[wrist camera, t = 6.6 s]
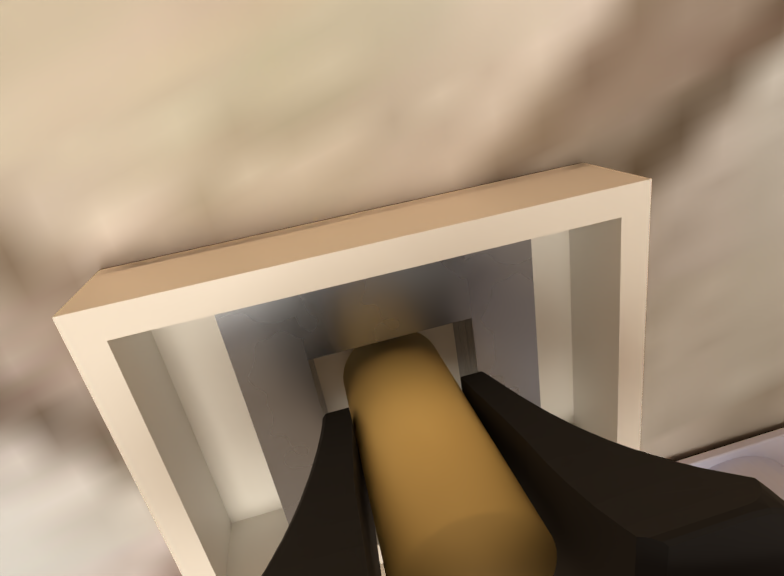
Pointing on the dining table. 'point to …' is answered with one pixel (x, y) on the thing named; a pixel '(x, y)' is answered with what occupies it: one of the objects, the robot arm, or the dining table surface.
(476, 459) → the peg
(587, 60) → the dining table surface
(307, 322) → the socket plate
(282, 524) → the tray
